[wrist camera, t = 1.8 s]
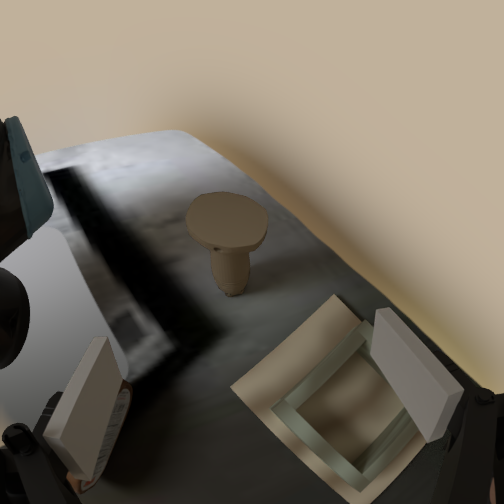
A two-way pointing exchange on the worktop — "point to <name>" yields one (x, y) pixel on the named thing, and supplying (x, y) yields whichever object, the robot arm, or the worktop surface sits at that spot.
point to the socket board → (334, 404)
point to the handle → (228, 235)
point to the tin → (107, 438)
